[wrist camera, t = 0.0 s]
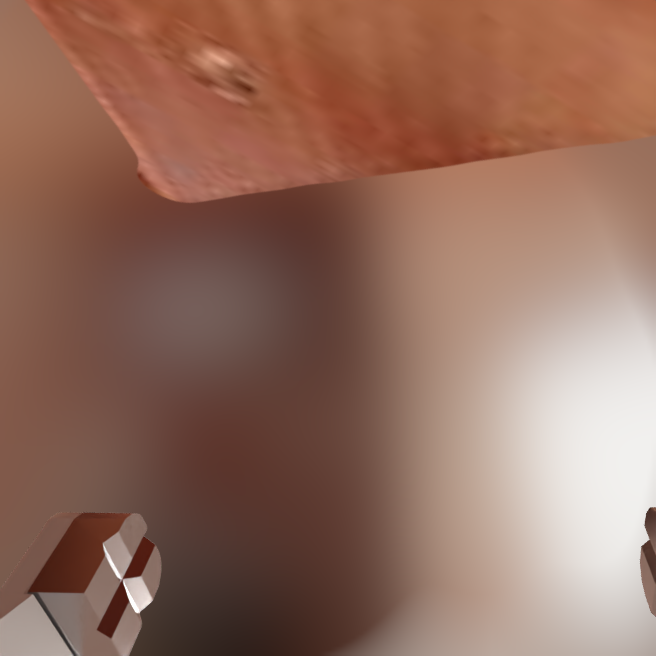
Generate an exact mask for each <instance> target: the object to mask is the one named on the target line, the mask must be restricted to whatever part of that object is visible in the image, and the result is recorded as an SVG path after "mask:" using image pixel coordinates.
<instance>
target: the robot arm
mask: <svg viewBox="0 0 656 656" xmlns="http://www.w3.org/2000/svg"><path fill="white" fill-rule="evenodd" d="M645 528H646V531H647V534H648V536H649V539H650V540H649V541H647V542H646V543H645V544H644V545H642V546H641V558H640V567H641V577H642V583H643V587H644V592H645V596H646V599H647V602H648V604H649V608H650V611H651V613H652V614H653V615H655V616H656V507H651V508H649V510H648V511H647V513H646V518H645ZM146 530H147V525H146V524H145V522H144V520H143V518H142V516H141V515H140V514H134V513H95V512H83V513H77V512H75V513H73V512H69V513H67V512H58V513H57V514H55V515H54V516H52V517H51V518H49V520H48V521H47V523H46V524H45V526H44V527H43V528H42V530H41V531H40V533H39V534H38V536H37V537H36V538H35V540H34V541H33V543H32V544H31V546H30V547H29V548H28V550H27V551H26V553H25V554H24V556H23V557H22V558H21V560H20V562H19V563H18V564H17V566H16V567H15V569H14V570H13V571H12V573H11V574H10V576H9V577H8V579H7V580H6V582H5V583H4V584H3V586H2V587H1V589H0V656H129V653H130V651H131V649H132V646H133V644H134V642H135V640H136V638H137V636H138V633H139V631H140V629H141V626H142V622H141V618H140V614H139V612H140V611H141V610H142V609H144V608H145V607H146V606H147V605H148V604H149V603H150V602H152V600H153V599H154V596H155V594H156V591H157V589H158V586H159V583H160V575H161V568H162V566H161V559H160V554H159V551H158V550H157V547H156V545H155V544H154V543H152V542H151V541H150V540H148V539H147V538H146V537H144V534H145V532H146Z"/></svg>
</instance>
